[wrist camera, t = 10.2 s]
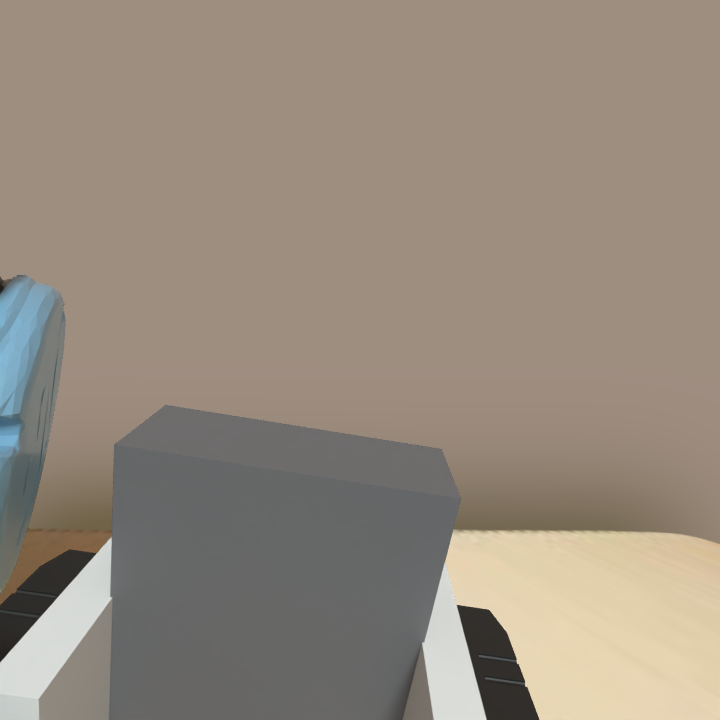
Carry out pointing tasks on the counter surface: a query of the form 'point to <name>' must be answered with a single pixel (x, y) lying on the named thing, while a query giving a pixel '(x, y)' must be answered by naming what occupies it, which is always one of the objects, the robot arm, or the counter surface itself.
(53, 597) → the robot arm
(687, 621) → the counter surface
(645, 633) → the counter surface
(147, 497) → the domino
